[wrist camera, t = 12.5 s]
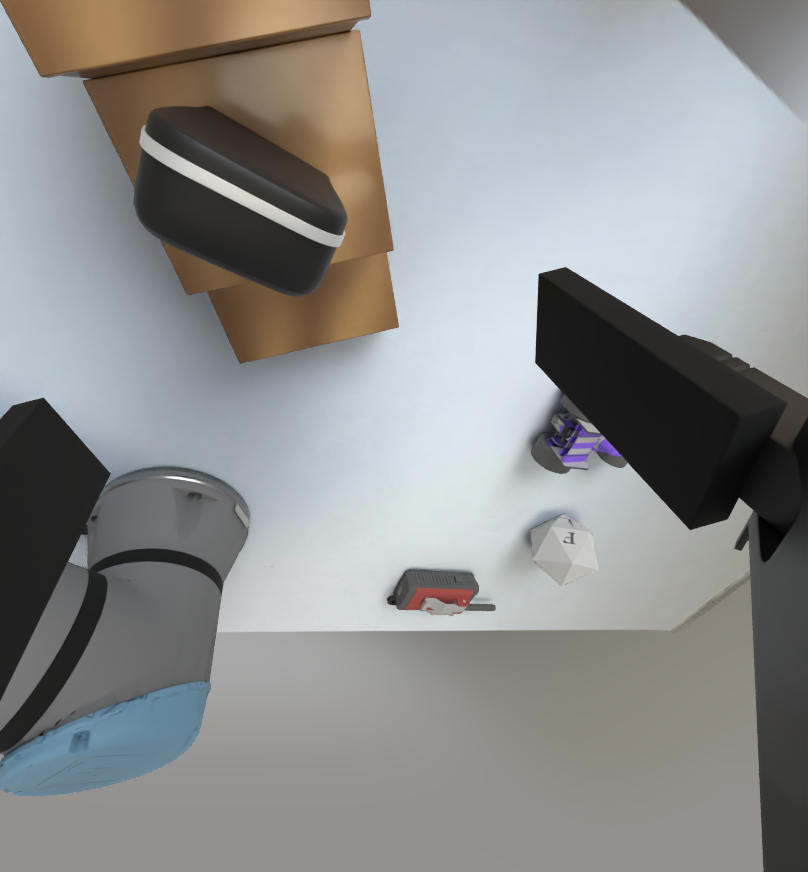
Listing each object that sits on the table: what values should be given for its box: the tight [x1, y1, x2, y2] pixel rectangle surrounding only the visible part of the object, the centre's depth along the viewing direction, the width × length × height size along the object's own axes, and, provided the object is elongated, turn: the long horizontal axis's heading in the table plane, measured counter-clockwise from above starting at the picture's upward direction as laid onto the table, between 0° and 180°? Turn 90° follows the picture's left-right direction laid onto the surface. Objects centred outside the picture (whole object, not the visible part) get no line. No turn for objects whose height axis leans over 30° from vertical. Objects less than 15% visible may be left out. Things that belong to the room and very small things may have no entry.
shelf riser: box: [0, 0, 399, 364], centre depth 24 cm, size 13×24×12 cm, turn 9°
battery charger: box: [134, 106, 348, 297], centre depth 18 cm, size 7×4×11 cm, turn 61°
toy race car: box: [531, 394, 628, 474], centre depth 48 cm, size 10×15×6 cm, turn 73°
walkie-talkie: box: [387, 570, 496, 616], centre depth 65 cm, size 9×4×20 cm
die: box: [531, 514, 598, 586], centre depth 59 cm, size 8×9×10 cm
